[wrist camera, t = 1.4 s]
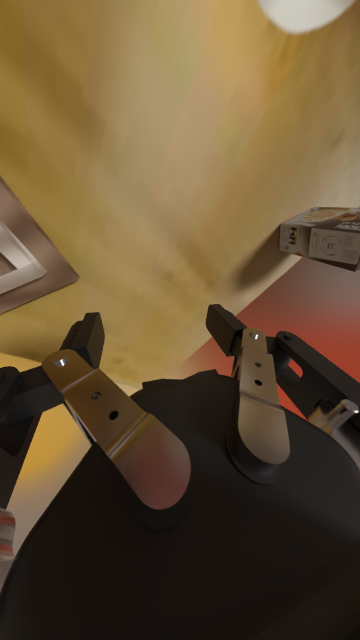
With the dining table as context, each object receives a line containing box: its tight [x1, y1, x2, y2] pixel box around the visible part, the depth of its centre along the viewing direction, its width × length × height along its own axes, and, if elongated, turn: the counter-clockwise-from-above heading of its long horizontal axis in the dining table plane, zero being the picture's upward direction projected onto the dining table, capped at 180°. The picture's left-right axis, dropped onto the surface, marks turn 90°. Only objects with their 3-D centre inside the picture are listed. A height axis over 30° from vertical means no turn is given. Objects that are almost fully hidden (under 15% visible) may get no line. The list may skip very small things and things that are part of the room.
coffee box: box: [279, 207, 360, 272], centre depth 31 cm, size 9×6×16 cm
